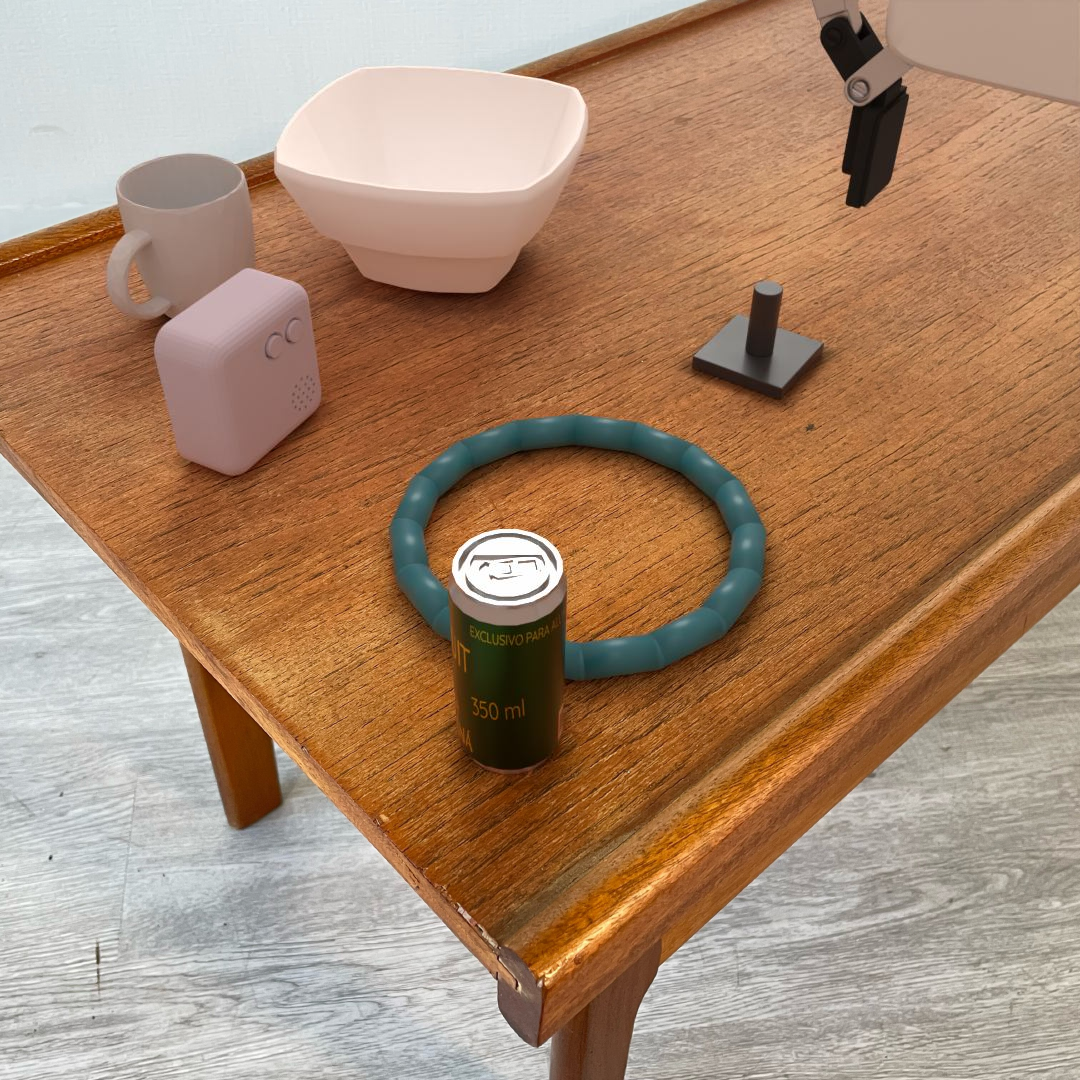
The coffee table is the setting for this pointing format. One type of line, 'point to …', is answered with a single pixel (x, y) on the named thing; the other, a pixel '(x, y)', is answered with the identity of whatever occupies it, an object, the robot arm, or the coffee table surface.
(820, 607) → the coffee table surface
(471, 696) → the beer can
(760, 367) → the post
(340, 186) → the bowl
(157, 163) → the mug
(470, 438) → the ring
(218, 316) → the electronic device
